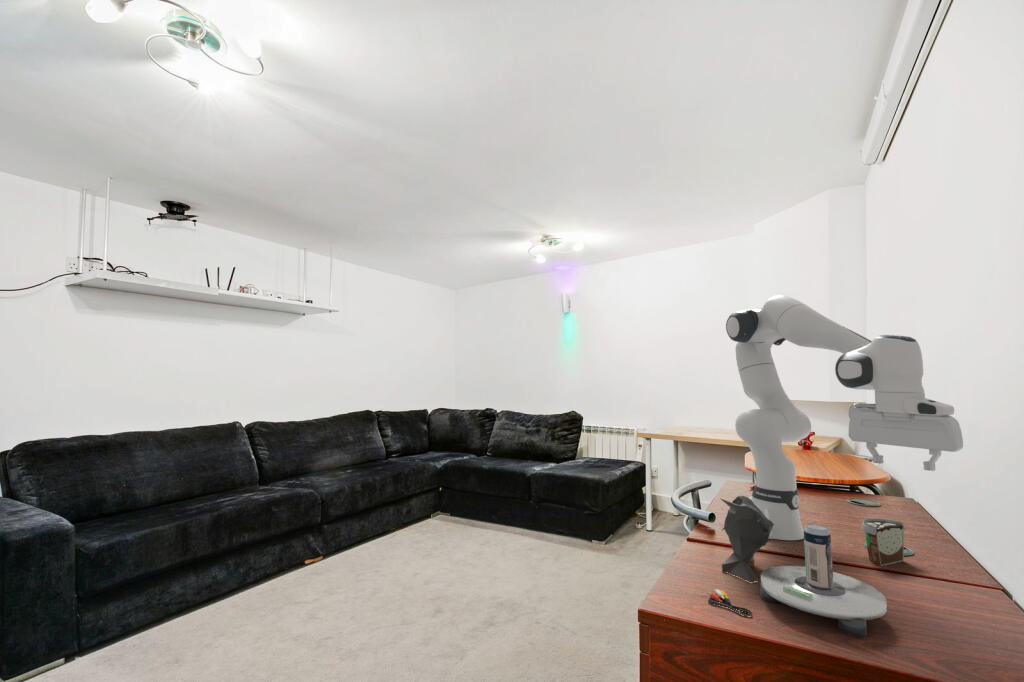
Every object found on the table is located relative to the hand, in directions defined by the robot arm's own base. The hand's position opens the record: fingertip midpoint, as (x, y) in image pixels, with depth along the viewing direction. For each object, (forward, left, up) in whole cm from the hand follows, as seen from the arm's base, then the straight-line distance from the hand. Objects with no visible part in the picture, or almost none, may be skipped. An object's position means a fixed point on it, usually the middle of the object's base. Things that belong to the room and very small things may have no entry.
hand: (902, 466), depth 105 cm
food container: (-14, +20, -29) cm, 38 cm away
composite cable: (-18, -39, -29) cm, 52 cm away
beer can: (-8, -23, -24) cm, 34 cm away
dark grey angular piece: (-29, -16, -29) cm, 44 cm away
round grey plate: (-8, -23, -29) cm, 37 cm away
